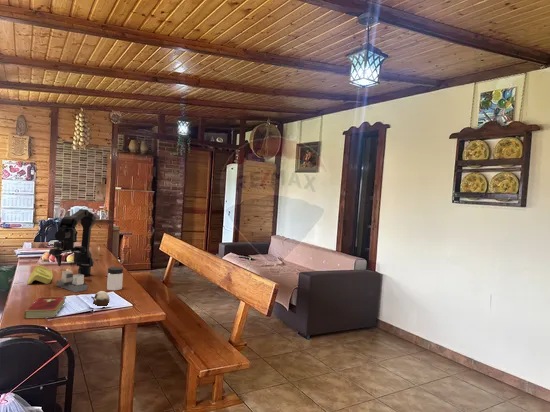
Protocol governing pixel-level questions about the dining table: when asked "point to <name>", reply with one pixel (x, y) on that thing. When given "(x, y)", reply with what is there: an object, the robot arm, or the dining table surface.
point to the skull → (101, 299)
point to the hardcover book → (44, 307)
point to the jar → (115, 278)
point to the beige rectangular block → (66, 276)
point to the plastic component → (41, 275)
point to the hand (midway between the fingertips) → (67, 265)
